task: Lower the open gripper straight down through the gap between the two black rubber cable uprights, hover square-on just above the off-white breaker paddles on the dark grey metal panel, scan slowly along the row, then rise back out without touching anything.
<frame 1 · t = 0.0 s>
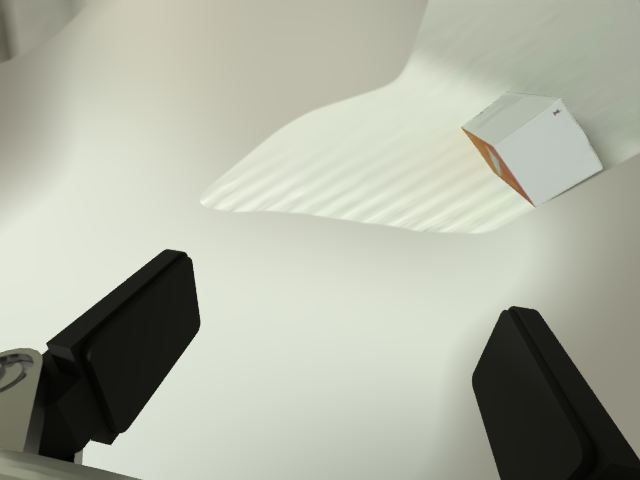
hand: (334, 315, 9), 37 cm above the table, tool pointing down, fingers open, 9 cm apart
small box: (499, 134, 40), on the table
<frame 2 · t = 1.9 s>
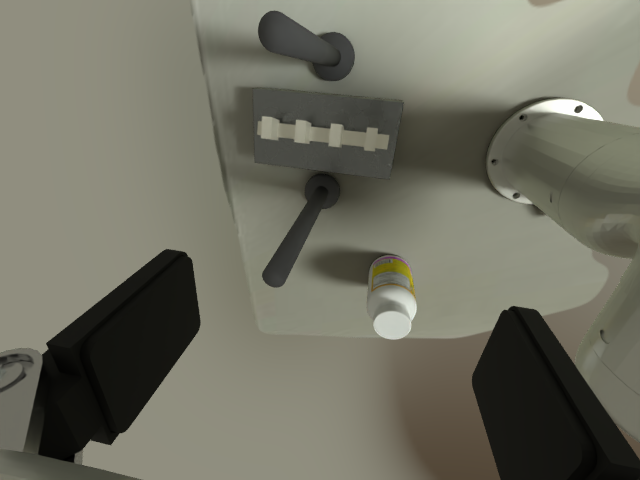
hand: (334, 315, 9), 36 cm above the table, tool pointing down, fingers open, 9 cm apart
supplement bottle: (390, 270, 50), on the table
cable upright 1: (334, 57, 38), on the table
cable upright 2: (323, 190, 46), on the table
breaker panel: (328, 130, 42), on the table
breaker paddles: (320, 134, 36), point 6 cm above the table, hinge at 12.0°
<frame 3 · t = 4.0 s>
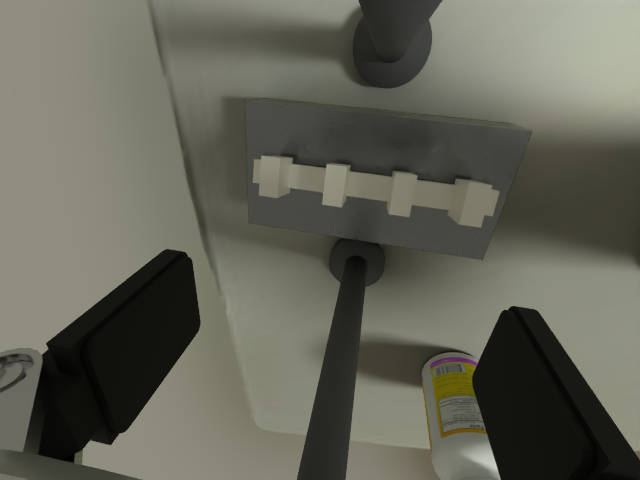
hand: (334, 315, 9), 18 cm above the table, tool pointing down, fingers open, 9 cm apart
supplement bottle: (452, 370, 33), on the table
cable upright 1: (391, 47, 21), on the table
cable upright 2: (357, 258, 29), on the table
breaker panel: (371, 169, 25), on the table
breaker paddles: (368, 187, 20), point 6 cm above the table, hinge at 12.0°
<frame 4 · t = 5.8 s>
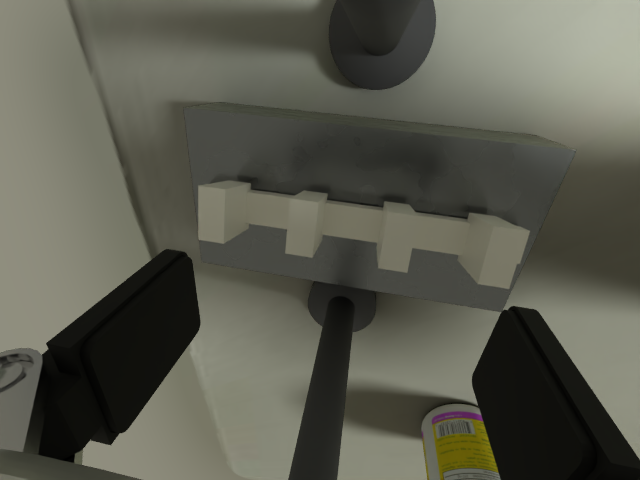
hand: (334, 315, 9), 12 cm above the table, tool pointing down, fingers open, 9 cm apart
supplement bottle: (458, 421, 28), on the table
cable upright 1: (380, 34, 16), on the table
cable upright 2: (342, 297, 24), on the table
breaker panel: (357, 192, 20), on the table
breaker paddles: (350, 226, 14), point 6 cm above the table, hinge at 12.0°
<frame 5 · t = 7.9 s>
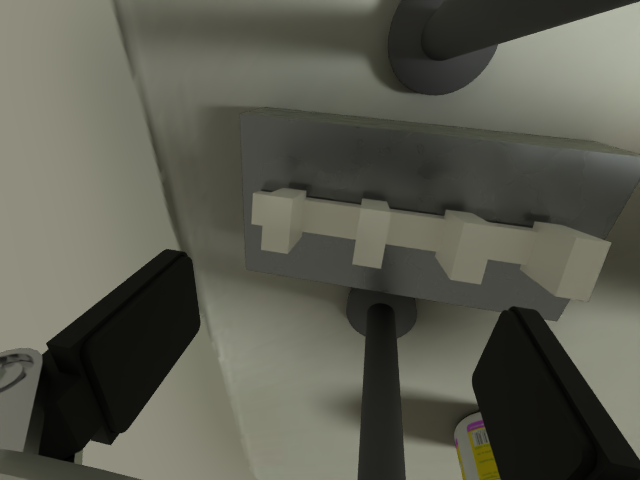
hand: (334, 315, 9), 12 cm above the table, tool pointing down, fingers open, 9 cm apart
supplement bottle: (491, 428, 28), on the table
cable upright 1: (439, 39, 15), on the table
cable upright 2: (380, 303, 23), on the table
breaker panel: (404, 198, 19), on the table
breaker paddles: (414, 235, 14), point 6 cm above the table, hinge at 12.0°
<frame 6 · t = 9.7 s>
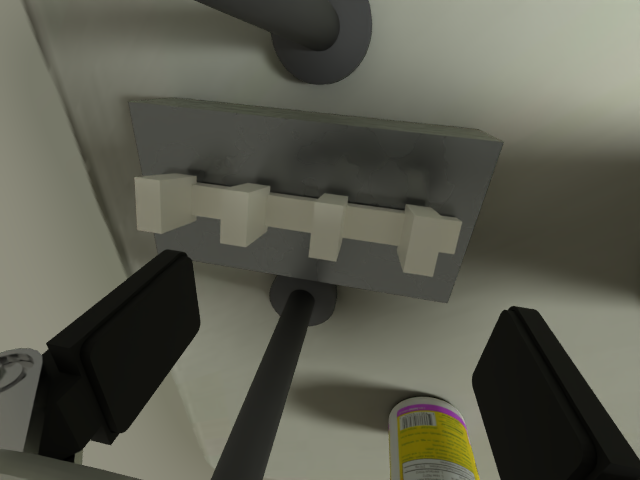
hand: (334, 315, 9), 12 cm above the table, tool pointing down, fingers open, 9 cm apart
supplement bottle: (425, 415, 29), on the table
cable upright 1: (323, 30, 16), on the table
cable upright 2: (305, 290, 24), on the table
breaker panel: (312, 186, 20), on the table
breaker paddles: (289, 217, 15), point 6 cm above the table, hinge at 12.0°
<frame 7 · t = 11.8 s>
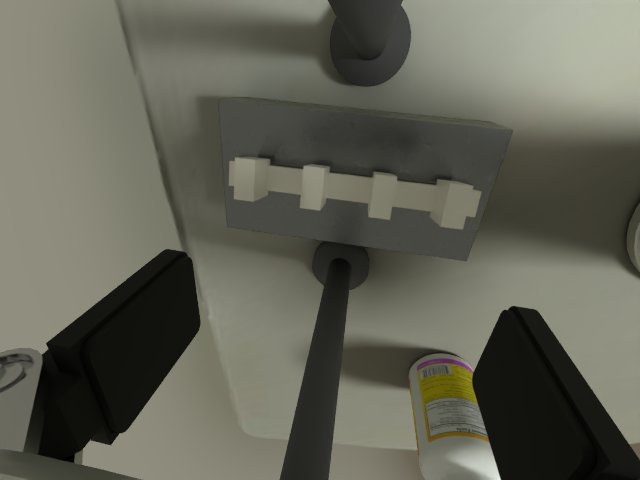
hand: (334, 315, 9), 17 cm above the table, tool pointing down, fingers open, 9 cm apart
supplement bottle: (439, 371, 33), on the table
cable upright 1: (369, 44, 20), on the table
cable upright 2: (341, 260, 28), on the table
breaker panel: (353, 170, 24), on the table
breaker paddles: (348, 189, 19), point 6 cm above the table, hinge at 12.0°
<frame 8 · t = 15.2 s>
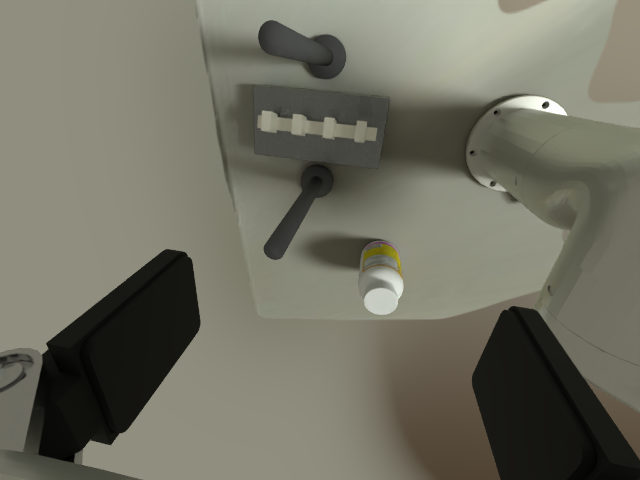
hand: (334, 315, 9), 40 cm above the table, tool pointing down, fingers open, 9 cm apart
supplement bottle: (380, 255, 54), on the table
cable upright 1: (327, 57, 42), on the table
cable upright 2: (317, 180, 50), on the table
breaker panel: (322, 124, 46), on the table
breaker paddles: (314, 127, 40), point 6 cm above the table, hinge at 12.0°
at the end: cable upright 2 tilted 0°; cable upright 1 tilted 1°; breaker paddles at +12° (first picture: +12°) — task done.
